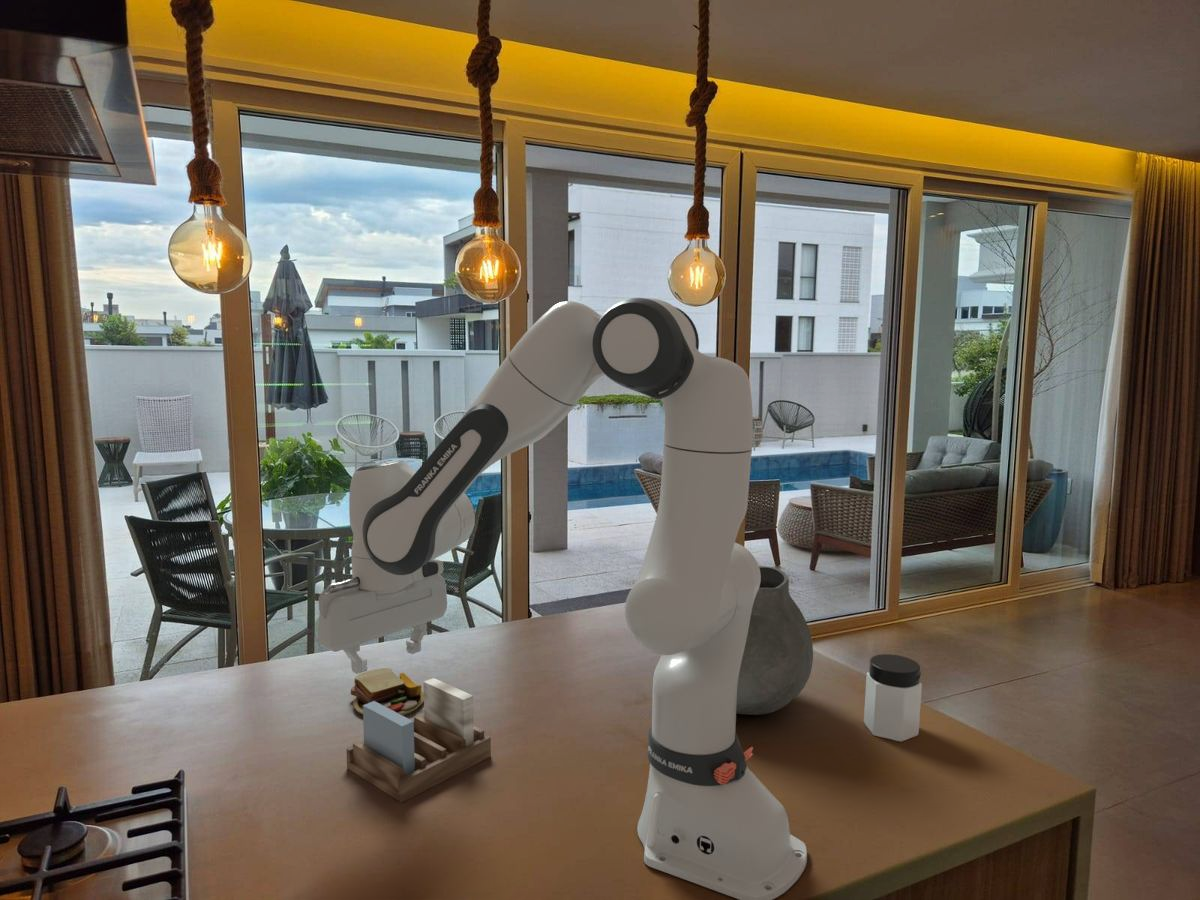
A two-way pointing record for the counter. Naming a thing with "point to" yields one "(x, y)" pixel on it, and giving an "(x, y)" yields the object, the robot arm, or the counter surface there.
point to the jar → (893, 697)
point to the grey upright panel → (389, 735)
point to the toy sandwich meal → (387, 691)
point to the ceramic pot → (773, 649)
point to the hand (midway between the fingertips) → (387, 661)
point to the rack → (428, 745)
